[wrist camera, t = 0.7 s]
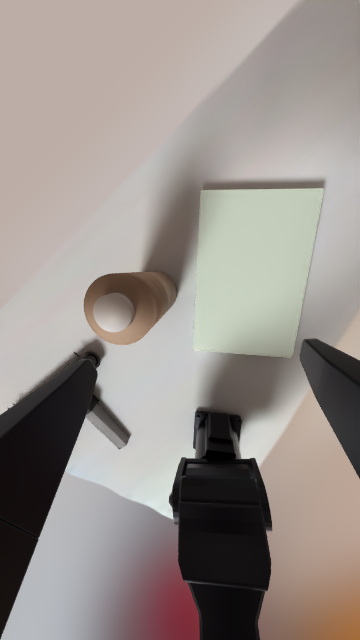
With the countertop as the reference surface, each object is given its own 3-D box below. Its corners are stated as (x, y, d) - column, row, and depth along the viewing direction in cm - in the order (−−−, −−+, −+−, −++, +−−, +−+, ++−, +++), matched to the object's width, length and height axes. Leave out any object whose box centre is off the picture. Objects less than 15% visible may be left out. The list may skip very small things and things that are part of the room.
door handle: (154, 432, 28) (72, 350, 25) (65, 484, 33) (-11, 420, 31) (158, 415, 31) (86, 339, 29) (77, 464, 37) (9, 404, 34)
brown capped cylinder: (176, 313, 26) (149, 353, 14) (137, 311, 26) (79, 347, 14) (177, 272, 24) (149, 275, 12) (136, 270, 25) (70, 272, 13)
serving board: (288, 354, 25) (292, 358, 24) (193, 346, 26) (192, 350, 25) (317, 192, 20) (324, 188, 19) (200, 194, 22) (200, 190, 21)
